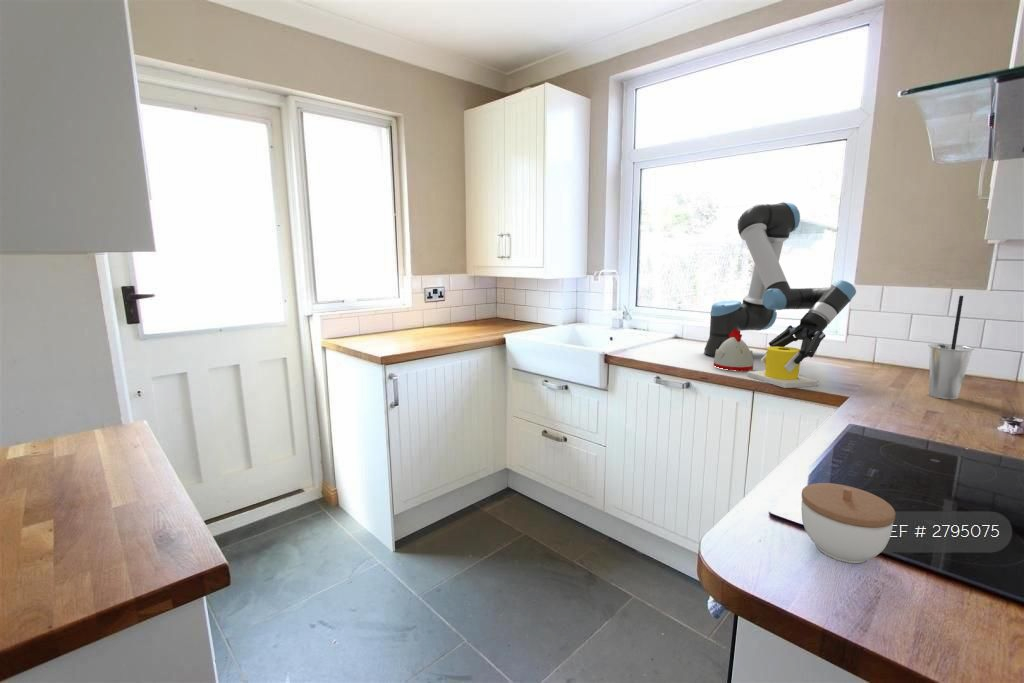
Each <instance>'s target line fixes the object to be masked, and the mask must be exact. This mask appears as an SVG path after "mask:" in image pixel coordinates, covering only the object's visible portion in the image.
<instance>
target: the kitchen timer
mask: <svg viewBox="0 0 1024 683" xmlns="http://www.w3.org/2000/svg"><path fill="white" fill-rule="evenodd" d="M742 336H743V334H741V331H738V329H737V330H736V329H733V331H731V334H729V339H727V340H726V341H724V342H723V343H722V344H721V346H720V347H719V349H716V353H715V357H714V359H713V367H714V366H716V367H719V368H723V369H728V370H736V371H735V372H750V371H752V370H753V369H754V360H753V357H754V352H753V350H752V349H750V348H749V347H748V344H747V343H746V342H745V340H743V339H742ZM728 370H727V371H728ZM749 370H750V371H749Z"/></svg>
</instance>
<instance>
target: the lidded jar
mask: <svg viewBox="0 0 1024 683" xmlns="http://www.w3.org/2000/svg"><path fill="white" fill-rule="evenodd" d="M895 519H896V511H895V509H894V507H893V506H892V505H891V504H890V503H889V502H887V501H886V500H885V499H884V498H882V497H879V496H878V495H875V494H873V493H871V492H869V491H866V490H863V489H860V488H857V487H853V486H849V485H845V484H839V483H833V482H832V483H831V482H818V483H816V482H815V483H811V484H808V485H806V486H804V487H803V488H802V491H801V520H802V525H803V527H804V530H805V532H806V534H807V535H808V537H809V539H810V540H811V541H812V542H813V543H814V544H815V547H816V546H817V547H818V548H817V547H816V548H817V550H819V551H820V552H821V553H822V554H823V555H825V556H827V557H829V558H831V559H834V560H836V561H839V562H842V563H847V564H862V563H865V562H867V561H868V560H870V559H873V558H874V557H877V556H878V555H880V553H882V552H883V551H884V550H885V548H886V546H887V545H888V543H889V541H890V539H891V536H892V532H893V528H894V526H893V525H894V522H895Z"/></svg>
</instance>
